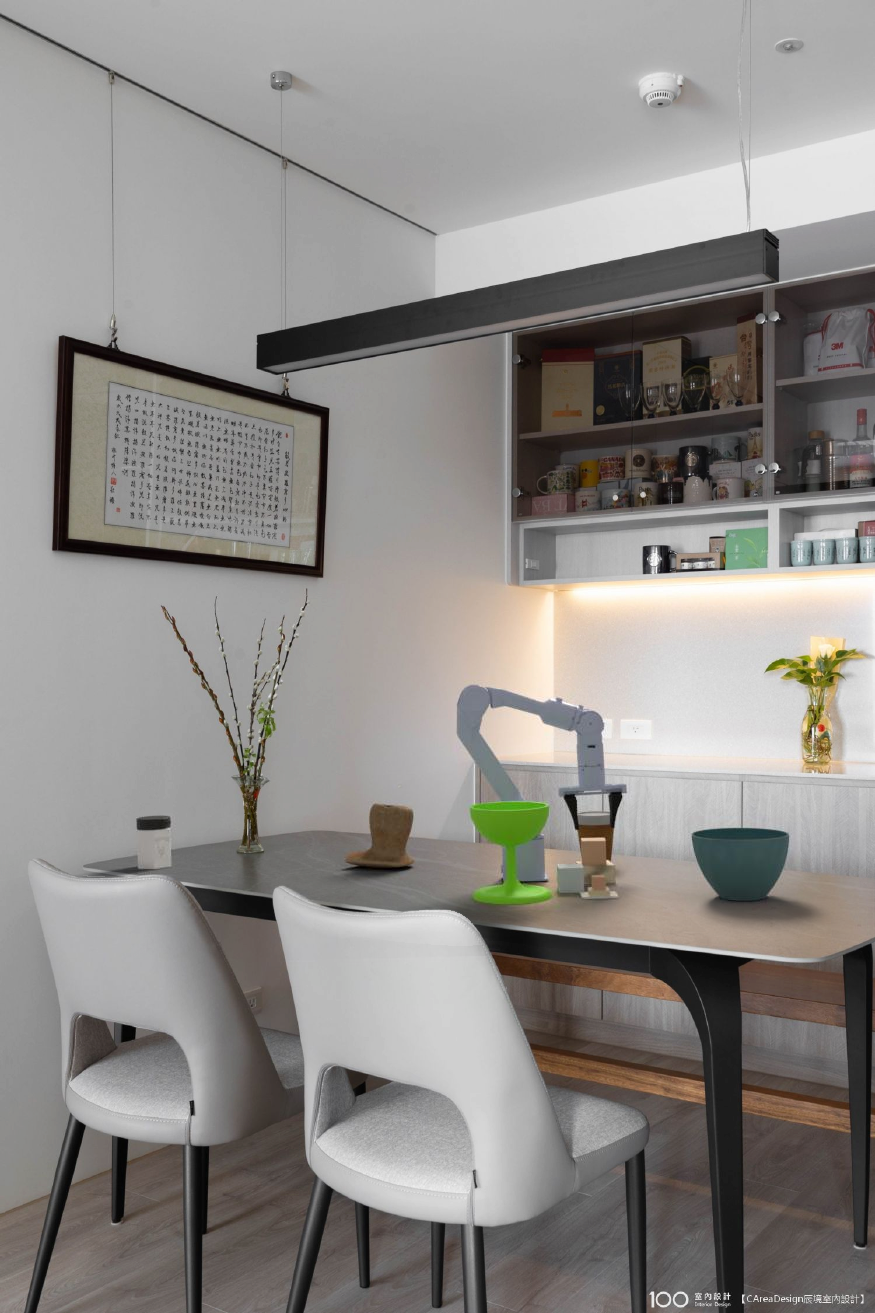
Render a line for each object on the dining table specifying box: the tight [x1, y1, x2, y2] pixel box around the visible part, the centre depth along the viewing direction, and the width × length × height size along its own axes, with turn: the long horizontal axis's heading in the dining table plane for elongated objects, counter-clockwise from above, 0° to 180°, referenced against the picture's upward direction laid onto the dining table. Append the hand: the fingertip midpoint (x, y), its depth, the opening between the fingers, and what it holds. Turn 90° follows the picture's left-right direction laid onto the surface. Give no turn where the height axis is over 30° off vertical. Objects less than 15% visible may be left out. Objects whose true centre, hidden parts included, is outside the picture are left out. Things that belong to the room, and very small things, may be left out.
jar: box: [135, 815, 172, 870], centre depth 279 cm, size 9×8×12 cm
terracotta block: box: [580, 838, 607, 865], centre depth 242 cm, size 5×5×5 cm
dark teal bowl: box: [691, 827, 790, 902], centre depth 220 cm, size 18×18×12 cm
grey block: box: [556, 863, 585, 894], centre depth 232 cm, size 5×5×5 cm
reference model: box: [579, 875, 619, 900], centre depth 225 cm, size 7×5×4 cm
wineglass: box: [469, 801, 553, 905], centre depth 228 cm, size 16×16×18 cm
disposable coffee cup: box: [576, 810, 617, 863], centre depth 260 cm, size 10×10×12 cm
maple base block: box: [575, 860, 617, 885], centre depth 242 cm, size 7×7×4 cm
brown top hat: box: [344, 802, 415, 869], centre depth 269 cm, size 15×12×15 cm
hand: (594, 828), depth 247 cm, fingers open, 7 cm apart
